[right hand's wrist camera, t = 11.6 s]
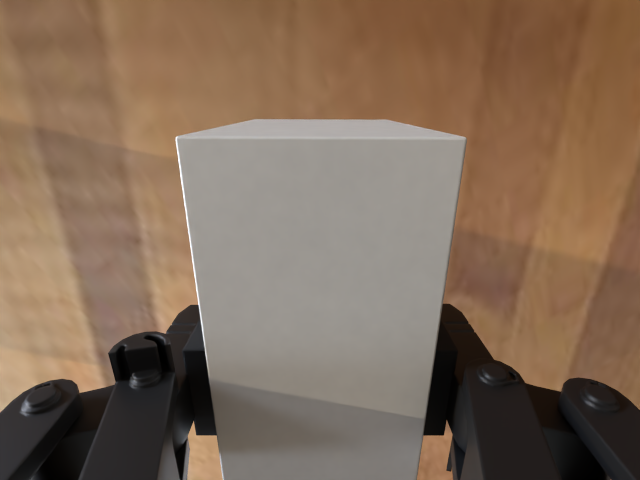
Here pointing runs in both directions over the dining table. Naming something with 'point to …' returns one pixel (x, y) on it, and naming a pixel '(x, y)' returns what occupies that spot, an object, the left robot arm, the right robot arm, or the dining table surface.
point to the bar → (320, 289)
